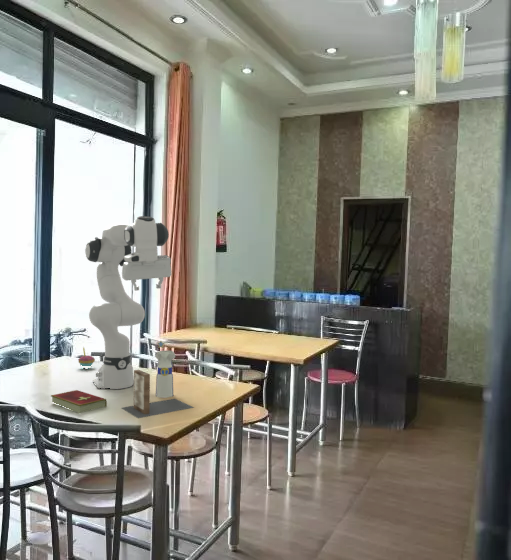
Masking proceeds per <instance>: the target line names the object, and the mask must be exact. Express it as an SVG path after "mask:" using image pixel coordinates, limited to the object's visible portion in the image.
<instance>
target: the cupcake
mask: <svg viewBox="0 0 511 560" xmlns="http://www.w3.org/2000/svg"><path fill="white" fill-rule="evenodd" d="M82 350H83V356H82V355H81V356H80V357H79V358H78V363H79V365H80V366H81V365H82V366H91V365H92V366H93V364H94V363H95V361H96V359H95V358H94V356H91V355H86V349H85V347H84V346H83V347H82ZM92 366H91V367H92Z"/></svg>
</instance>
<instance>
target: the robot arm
mask: <svg viewBox="0 0 511 560" xmlns="http://www.w3.org/2000/svg"><path fill="white" fill-rule="evenodd" d="M169 236H170V235H169V230H168V228H167V226H166V225H165V224H163V223H162V222H156V220H155V218H153V217H152V216H146V215H142V216H137V217H136V218H135V221H134V222H133V223H132V224H128V223H121V222H114V223H111V224H108V225H107V226H105V228H104V229H103V231H102V236H101V237H97V236H96V237H95V238H94V239H92V240H90V241H89V242H87V244H85V245H86V246H85V249H84V251H85V252H84V253H85V257H86V259H87V260H88V261H89V262H92V263H98V265H97V266H96V280H97V286H98V289H99V294H100V297H101V299H103V301H105V302H106V303H100V304H99V303H98V304H96V305H93V306H92V307H91V309H90V310H89V313H88V316H89V317H88V318H89V321H90V323H91V324H92V325H93V326H94V327H96V329H98V331H100V333H101V335H102V337H103V339H104V341H103V342H104V353H105V354H104V357H103V361H102V362H103V364H102V365H101V366H100V367H99V369H98V370H97V371H96V372H95V377H96V378H95V379H94V378H93V380H92V382H93V381H94V383H95V384H96V386H97V387H98V388H97V387H96V386H95V387H96V388H97V389H100V388H101V389H105V388H110V389H109V390H119V389H120V390H121V389H126V388H131V387H132V386H134V368H133V365H131V359H132V358H131V355H130V345H131V342H130V338H129V337H128V336H127V335H125V334H123V333H121V332H119V329H118V328H119V327H129V326H131V327H132V326H136V325H139V324H141V323H142V322H143V321H144V319H145V317H146V312H145V308H144V307H143V305H142V304H141V303H138V302H137V301H135V300H134V299H132V298H131V297H130V296H129V295H128V294H127V292H126V291H125V288H124V285H123V281H122V279H123V280H124V281H131V282H130V283H131V284H132V285H133V289H134V291H140V286H139V285H137V284H136V283H137V280H148V279H149V280H150V279H158V280H159V281H158V283H156V284H155V285H156V286H155V288H156V289H158V290H159V289H162V283H163V282H164V278H170V277H171V276H172V266H171V261H172V260H171V259H172V258H171V257H170V256H168V255H167V254H165V255H158V247H163V246H164V245H165V244H166V243H167V242H168V240H169ZM132 247H133V248H135V249H134V252H132ZM119 266H120V267H122V269H121V271H122V272H121V274H120V272H119ZM121 275H122V278H121ZM94 383H93V384H94ZM95 384H94V385H95Z"/></svg>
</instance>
